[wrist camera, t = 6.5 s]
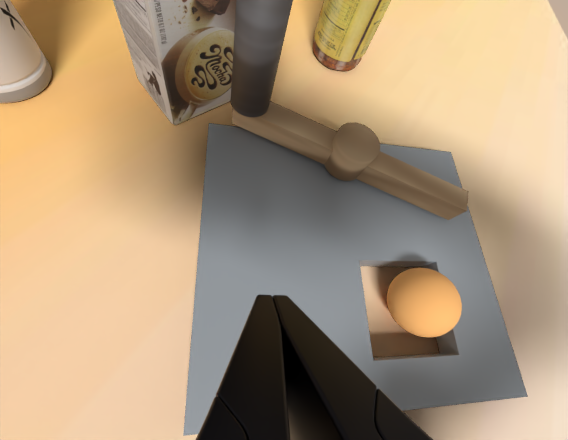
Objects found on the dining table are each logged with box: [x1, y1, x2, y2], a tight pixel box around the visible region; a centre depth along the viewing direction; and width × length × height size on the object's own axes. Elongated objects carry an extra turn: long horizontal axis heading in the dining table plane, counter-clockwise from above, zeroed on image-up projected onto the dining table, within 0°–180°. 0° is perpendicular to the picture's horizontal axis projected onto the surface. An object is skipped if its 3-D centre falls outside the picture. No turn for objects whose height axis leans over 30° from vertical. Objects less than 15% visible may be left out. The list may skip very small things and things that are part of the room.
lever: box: [231, 0, 468, 220], centre depth 19 cm, size 4×21×11 cm, turn 71°
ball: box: [387, 268, 462, 337], centre depth 21 cm, size 5×5×5 cm
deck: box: [183, 123, 527, 436], centre depth 23 cm, size 22×24×2 cm
